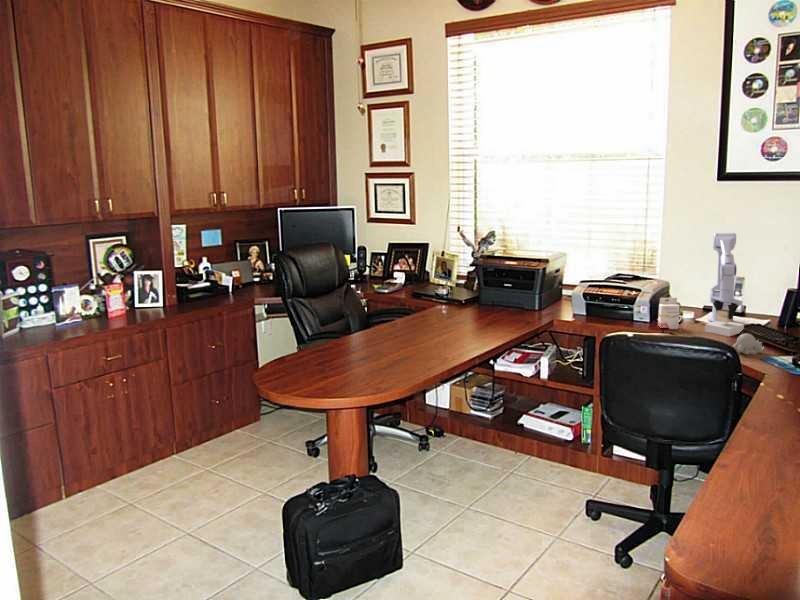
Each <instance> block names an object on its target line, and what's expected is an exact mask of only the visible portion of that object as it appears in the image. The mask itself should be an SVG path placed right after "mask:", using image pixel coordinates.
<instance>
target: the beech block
mask: <svg viewBox="0 0 800 600" xmlns="http://www.w3.org/2000/svg"><path fill="white" fill-rule="evenodd" d="M717 321H720V322H725V323H728V322H734V318H733V319H729V310H727V309H721V310H718V311H717Z"/></svg>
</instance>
